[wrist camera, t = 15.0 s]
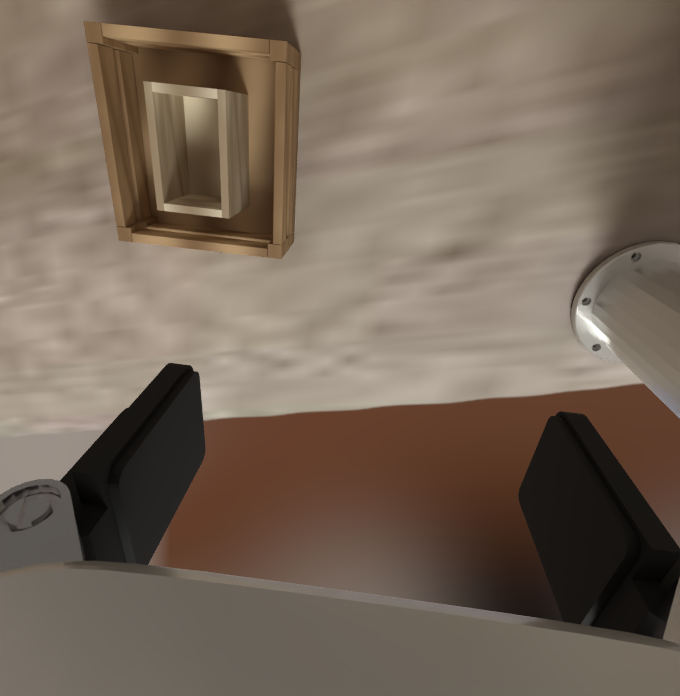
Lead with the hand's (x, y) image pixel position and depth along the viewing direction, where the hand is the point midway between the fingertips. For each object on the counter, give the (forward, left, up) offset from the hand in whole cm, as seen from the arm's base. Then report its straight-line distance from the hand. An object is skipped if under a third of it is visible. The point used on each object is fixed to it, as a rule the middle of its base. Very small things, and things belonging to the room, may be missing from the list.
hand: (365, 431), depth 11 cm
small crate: (+15, -4, -31) cm, 35 cm away
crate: (+15, -4, -32) cm, 36 cm away
